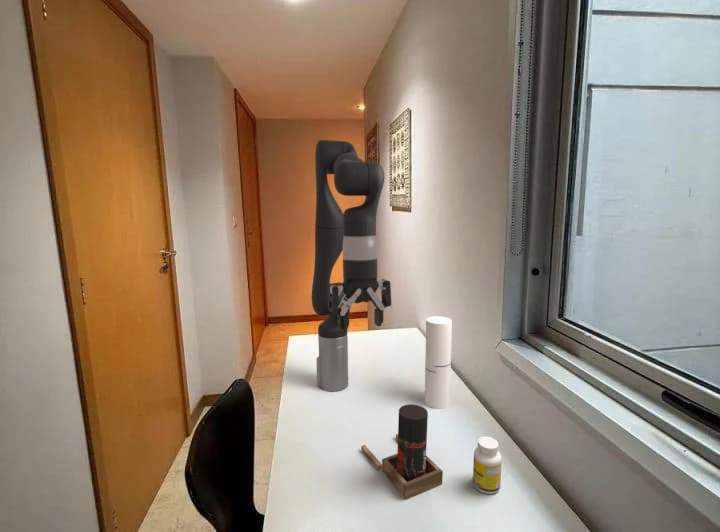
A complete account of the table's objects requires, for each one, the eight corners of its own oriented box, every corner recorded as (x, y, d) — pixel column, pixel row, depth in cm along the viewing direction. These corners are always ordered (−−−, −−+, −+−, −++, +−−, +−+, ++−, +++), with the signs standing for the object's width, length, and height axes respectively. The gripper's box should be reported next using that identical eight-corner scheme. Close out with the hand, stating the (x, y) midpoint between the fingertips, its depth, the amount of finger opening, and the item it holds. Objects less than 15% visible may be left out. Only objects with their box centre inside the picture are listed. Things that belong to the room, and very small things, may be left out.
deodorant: (425, 489, 78) (428, 420, 75) (395, 485, 79) (397, 417, 76) (424, 469, 84) (427, 405, 81) (397, 466, 84) (399, 403, 82)
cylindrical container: (449, 409, 107) (452, 324, 103) (424, 407, 109) (425, 323, 105) (449, 397, 114) (451, 316, 110) (425, 395, 116) (426, 315, 112)
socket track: (361, 450, 90) (361, 438, 90) (399, 437, 95) (399, 426, 94) (402, 501, 75) (402, 487, 74) (445, 482, 80) (445, 469, 79)
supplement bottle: (468, 477, 81) (470, 434, 80) (493, 475, 82) (495, 433, 80) (478, 496, 76) (480, 451, 74) (505, 494, 76) (507, 449, 75)
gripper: (381, 252, 89) (381, 319, 92) (323, 256, 83) (325, 327, 86) (397, 256, 82) (396, 328, 85) (335, 261, 77) (337, 338, 79)
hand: (360, 328), depth 85 cm, fingers open, 8 cm apart
